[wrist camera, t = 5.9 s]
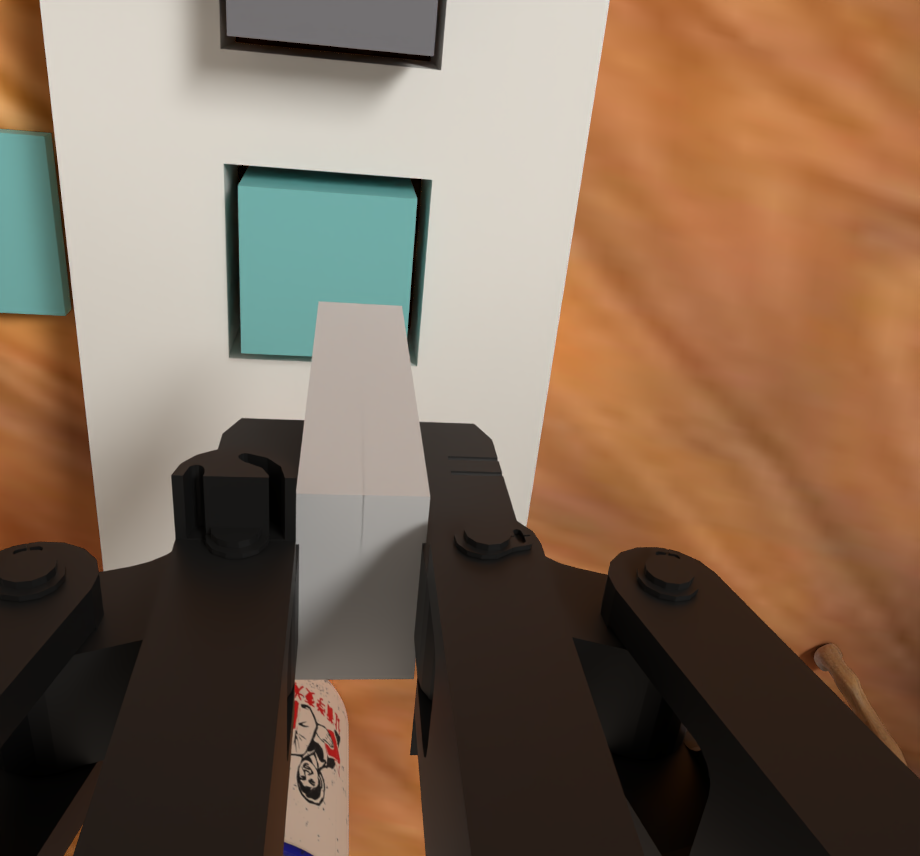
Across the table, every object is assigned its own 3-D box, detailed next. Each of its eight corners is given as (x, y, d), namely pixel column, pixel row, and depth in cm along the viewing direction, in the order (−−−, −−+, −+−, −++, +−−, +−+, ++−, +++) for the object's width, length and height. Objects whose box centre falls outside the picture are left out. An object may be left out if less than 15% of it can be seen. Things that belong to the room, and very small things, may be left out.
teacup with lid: (380, 654, 33) (395, 959, 22) (325, 814, 36) (317, 1139, 26) (49, 603, 30) (-108, 926, 19) (26, 782, 33) (-116, 1133, 23)
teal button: (408, 175, 24) (417, 199, 21) (399, 320, 26) (405, 360, 23) (250, 162, 23) (238, 185, 21) (252, 312, 25) (241, 353, 23)
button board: (605, -184, 21) (642, -210, 18) (499, 554, 31) (513, 607, 28) (52, -266, 19) (5, -308, 16) (129, 550, 29) (107, 607, 26)
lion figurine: (924, 795, 41) (1064, 990, 33) (824, 845, 42) (938, 1047, 34) (817, 606, 34) (959, 792, 26) (701, 669, 35) (805, 867, 27)
